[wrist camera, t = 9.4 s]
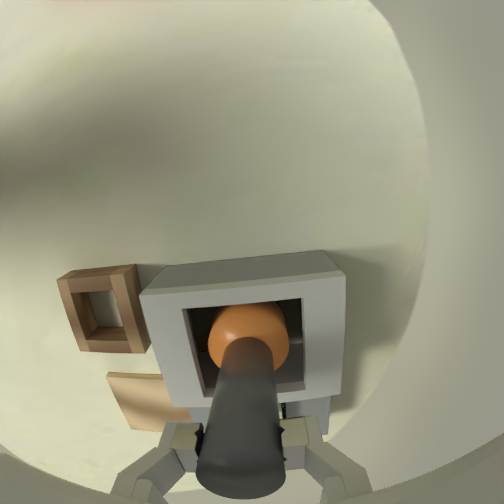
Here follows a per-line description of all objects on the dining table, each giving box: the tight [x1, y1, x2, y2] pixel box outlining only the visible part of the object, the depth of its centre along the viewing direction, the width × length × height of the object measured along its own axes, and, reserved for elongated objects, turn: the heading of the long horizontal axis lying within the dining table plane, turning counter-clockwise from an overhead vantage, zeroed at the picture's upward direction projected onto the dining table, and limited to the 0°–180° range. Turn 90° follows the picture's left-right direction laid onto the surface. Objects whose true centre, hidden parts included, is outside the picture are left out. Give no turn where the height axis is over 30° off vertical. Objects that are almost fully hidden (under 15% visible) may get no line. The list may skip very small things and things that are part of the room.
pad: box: [106, 372, 193, 432], centre depth 25 cm, size 8×8×1 cm
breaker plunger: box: [208, 301, 289, 371], centre depth 19 cm, size 5×5×3 cm
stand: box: [57, 264, 151, 354], centre depth 22 cm, size 7×7×2 cm
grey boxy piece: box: [139, 250, 346, 435], centre depth 21 cm, size 17×12×6 cm
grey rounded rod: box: [196, 337, 286, 499], centre depth 13 cm, size 3×3×10 cm
